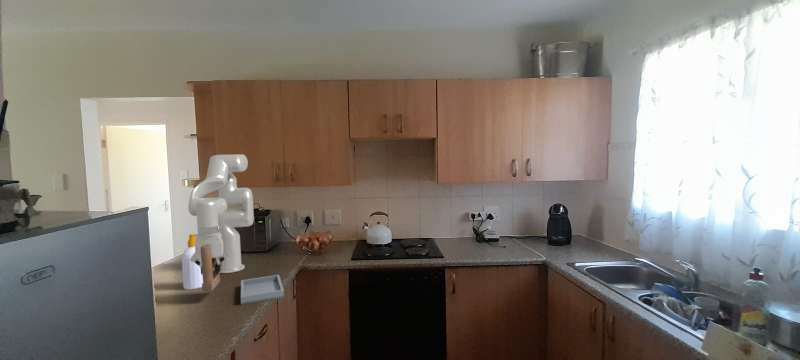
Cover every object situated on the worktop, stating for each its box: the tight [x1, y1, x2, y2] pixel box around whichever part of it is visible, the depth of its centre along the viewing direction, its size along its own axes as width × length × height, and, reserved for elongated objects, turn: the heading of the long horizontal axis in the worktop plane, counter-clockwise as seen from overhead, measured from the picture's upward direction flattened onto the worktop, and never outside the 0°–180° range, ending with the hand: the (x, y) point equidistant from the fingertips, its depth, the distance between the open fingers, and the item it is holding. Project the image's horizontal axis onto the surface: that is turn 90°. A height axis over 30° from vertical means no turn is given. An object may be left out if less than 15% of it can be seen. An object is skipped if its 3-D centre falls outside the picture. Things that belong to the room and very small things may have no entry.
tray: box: [240, 274, 285, 306], centre depth 148 cm, size 22×16×3 cm
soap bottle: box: [181, 233, 203, 291], centre depth 156 cm, size 9×9×24 cm
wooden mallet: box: [201, 245, 221, 293], centre depth 142 cm, size 4×11×18 cm, turn 11°
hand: (211, 274), depth 142 cm, fingers closed on wooden mallet, 4 cm apart
